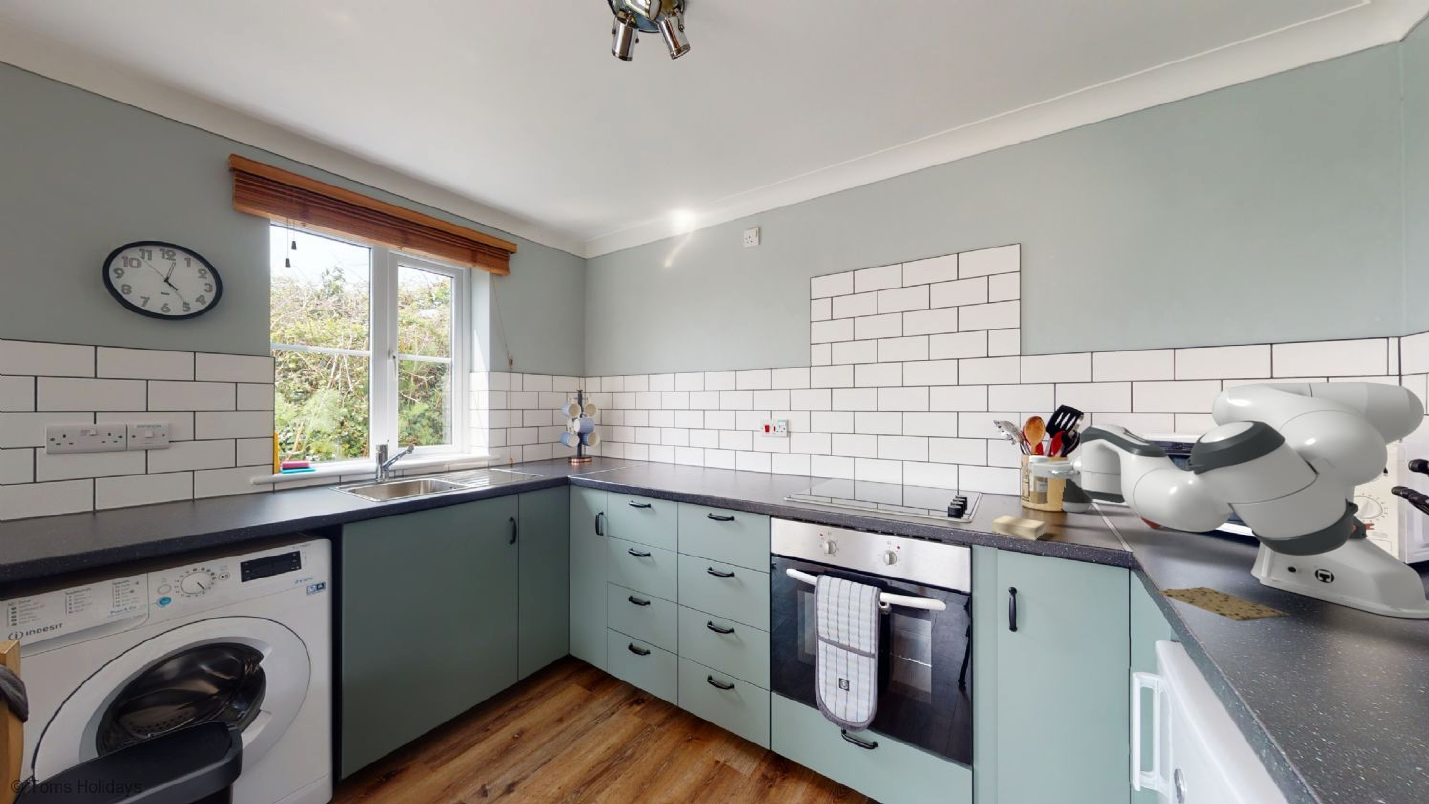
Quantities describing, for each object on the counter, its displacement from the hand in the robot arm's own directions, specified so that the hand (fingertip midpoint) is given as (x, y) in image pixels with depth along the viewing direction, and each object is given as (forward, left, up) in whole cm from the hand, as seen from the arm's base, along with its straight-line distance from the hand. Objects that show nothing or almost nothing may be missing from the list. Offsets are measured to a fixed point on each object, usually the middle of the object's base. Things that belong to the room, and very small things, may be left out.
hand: (1035, 465), depth 140 cm
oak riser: (-9, +13, -17) cm, 23 cm away
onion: (-9, -29, -17) cm, 35 cm away
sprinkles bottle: (-1, 0, -11) cm, 11 cm away
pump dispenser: (+13, -25, -17) cm, 33 cm away
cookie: (-55, +12, -17) cm, 59 cm away
